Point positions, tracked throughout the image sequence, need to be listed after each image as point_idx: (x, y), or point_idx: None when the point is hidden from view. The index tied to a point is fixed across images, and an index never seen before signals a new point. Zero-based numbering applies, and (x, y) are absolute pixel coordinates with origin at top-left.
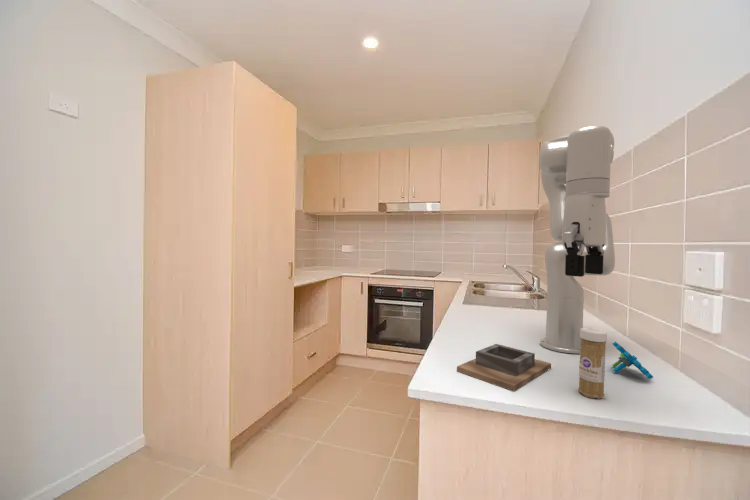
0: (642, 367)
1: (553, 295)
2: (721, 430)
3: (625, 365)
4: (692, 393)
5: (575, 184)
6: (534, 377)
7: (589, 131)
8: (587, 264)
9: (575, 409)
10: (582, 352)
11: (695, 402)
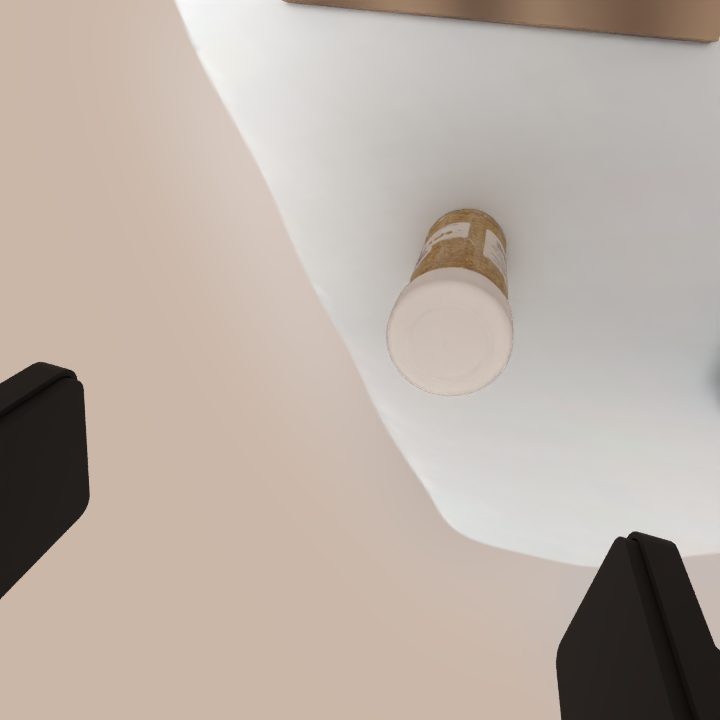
0: None
1: None
2: (442, 506)
3: None
4: (700, 506)
5: None
6: (488, 21)
7: None
8: (640, 648)
9: (305, 222)
10: (425, 262)
11: (612, 497)
